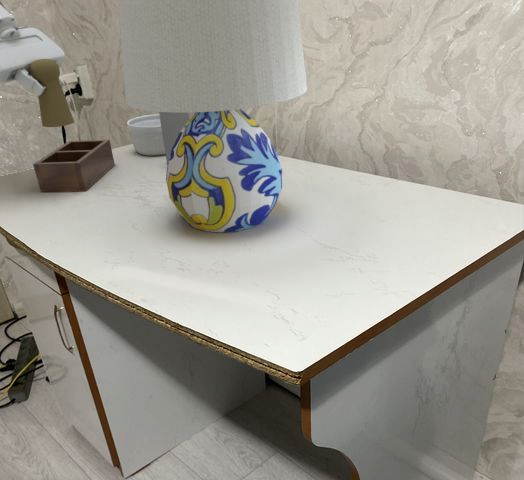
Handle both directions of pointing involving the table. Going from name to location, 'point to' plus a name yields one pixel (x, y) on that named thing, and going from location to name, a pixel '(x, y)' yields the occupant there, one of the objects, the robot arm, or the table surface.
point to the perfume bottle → (172, 128)
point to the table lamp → (215, 97)
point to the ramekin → (147, 135)
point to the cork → (51, 94)
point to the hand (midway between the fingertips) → (52, 89)
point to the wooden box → (74, 166)
